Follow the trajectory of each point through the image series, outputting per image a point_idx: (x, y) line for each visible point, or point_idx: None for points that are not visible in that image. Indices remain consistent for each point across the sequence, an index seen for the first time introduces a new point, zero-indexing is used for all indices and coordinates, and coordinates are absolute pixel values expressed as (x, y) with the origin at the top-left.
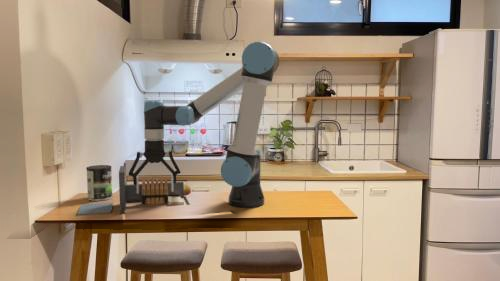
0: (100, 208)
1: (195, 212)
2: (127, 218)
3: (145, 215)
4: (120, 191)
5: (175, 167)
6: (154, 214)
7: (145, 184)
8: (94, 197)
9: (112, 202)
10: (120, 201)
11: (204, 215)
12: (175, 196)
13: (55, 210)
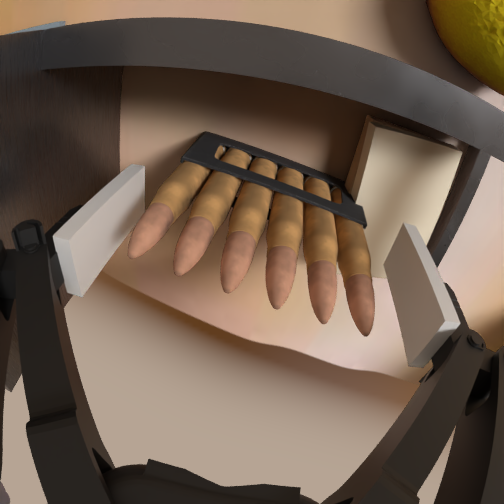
0: None
1: (394, 335)
2: (135, 287)
3: (201, 287)
4: None
5: (458, 437)
6: (239, 292)
7: (200, 65)
8: None
9: (58, 22)
10: None
11: (394, 366)
12: (436, 149)
13: None
